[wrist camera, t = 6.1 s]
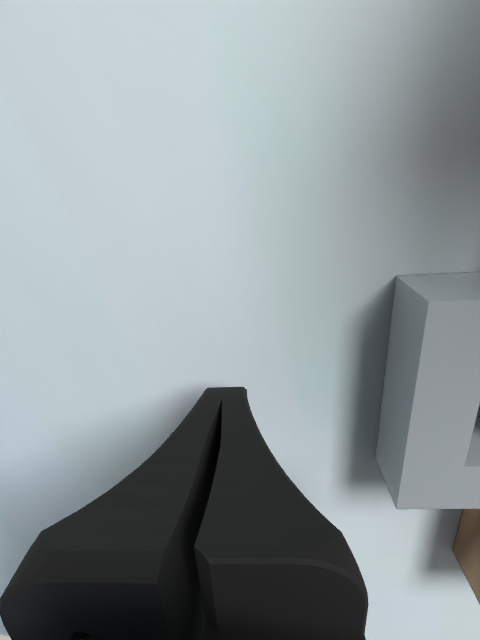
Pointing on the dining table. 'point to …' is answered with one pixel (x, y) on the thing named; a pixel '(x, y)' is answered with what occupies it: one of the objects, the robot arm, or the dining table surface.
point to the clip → (432, 393)
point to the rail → (469, 548)
